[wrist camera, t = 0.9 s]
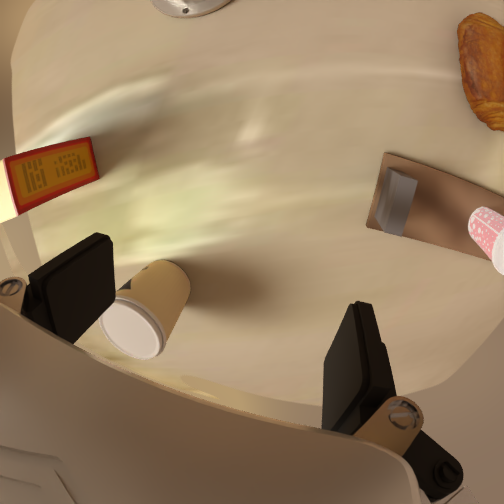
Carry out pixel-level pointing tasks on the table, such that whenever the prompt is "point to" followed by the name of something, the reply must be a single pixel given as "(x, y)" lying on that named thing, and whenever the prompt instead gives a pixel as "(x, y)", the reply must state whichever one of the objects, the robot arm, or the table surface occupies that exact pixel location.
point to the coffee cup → (146, 310)
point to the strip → (428, 205)
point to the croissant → (483, 67)
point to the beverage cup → (489, 234)
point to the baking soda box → (44, 175)
